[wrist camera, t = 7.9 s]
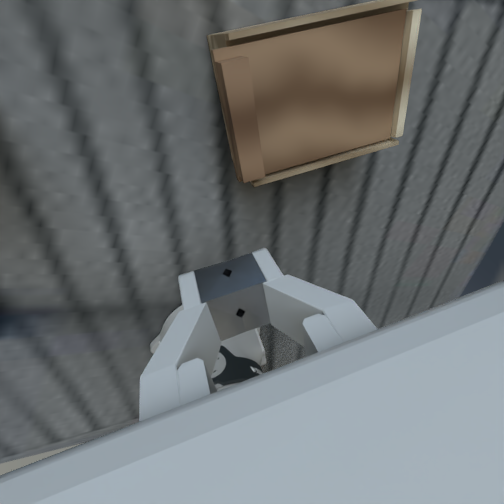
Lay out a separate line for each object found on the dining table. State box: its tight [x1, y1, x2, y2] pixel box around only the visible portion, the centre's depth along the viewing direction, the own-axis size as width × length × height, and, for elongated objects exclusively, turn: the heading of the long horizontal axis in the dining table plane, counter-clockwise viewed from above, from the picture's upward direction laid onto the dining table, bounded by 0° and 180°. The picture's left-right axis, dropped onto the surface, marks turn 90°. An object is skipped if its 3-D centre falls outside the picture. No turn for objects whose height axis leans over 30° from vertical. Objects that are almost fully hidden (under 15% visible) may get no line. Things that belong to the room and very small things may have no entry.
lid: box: [211, 8, 407, 183], centre depth 25 cm, size 10×16×3 cm, turn 100°
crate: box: [207, 0, 422, 187], centre depth 29 cm, size 12×16×9 cm
